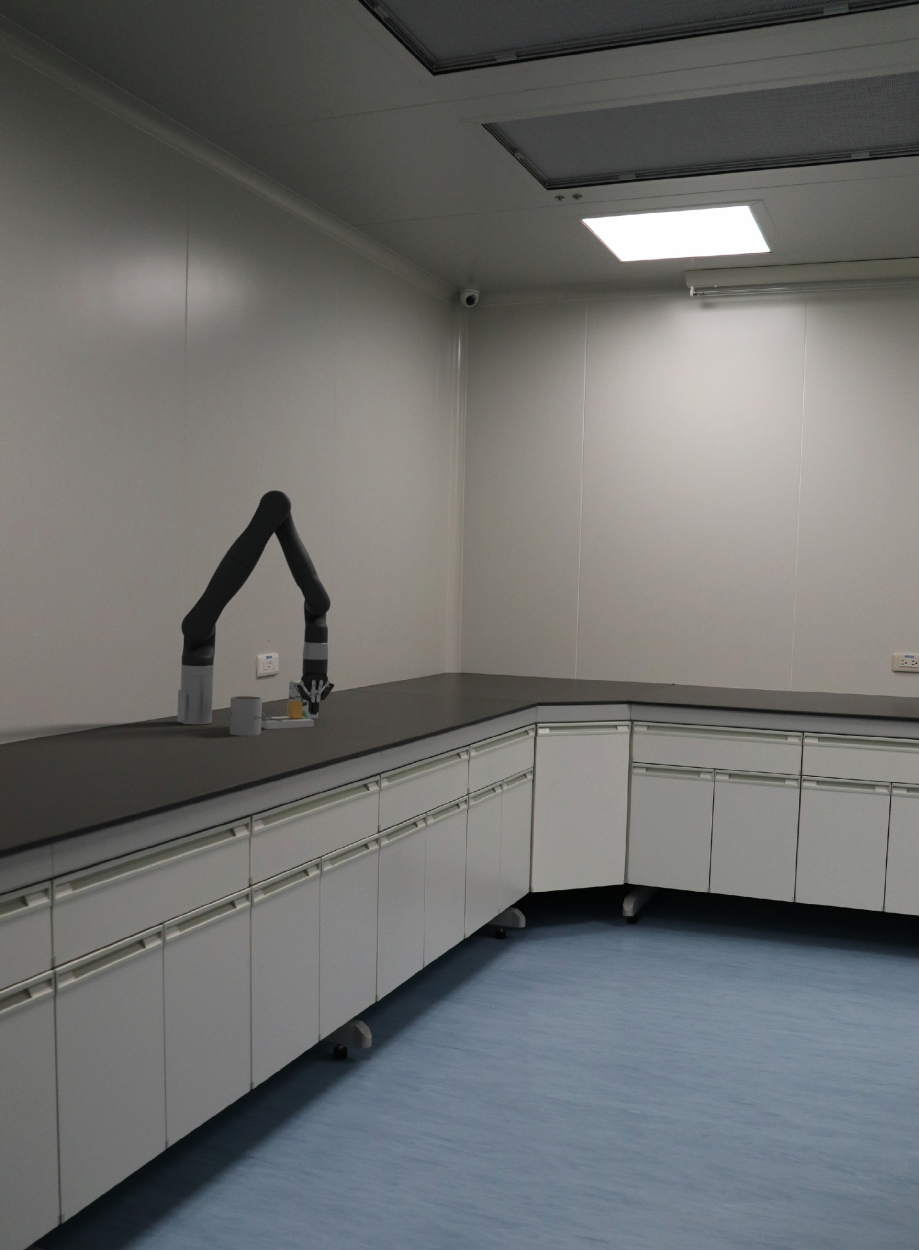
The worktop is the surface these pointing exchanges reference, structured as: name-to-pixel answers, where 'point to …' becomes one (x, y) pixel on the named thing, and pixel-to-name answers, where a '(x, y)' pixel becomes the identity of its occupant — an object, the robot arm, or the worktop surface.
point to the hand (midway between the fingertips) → (313, 714)
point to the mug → (245, 715)
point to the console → (284, 722)
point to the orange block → (294, 709)
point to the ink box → (300, 699)
